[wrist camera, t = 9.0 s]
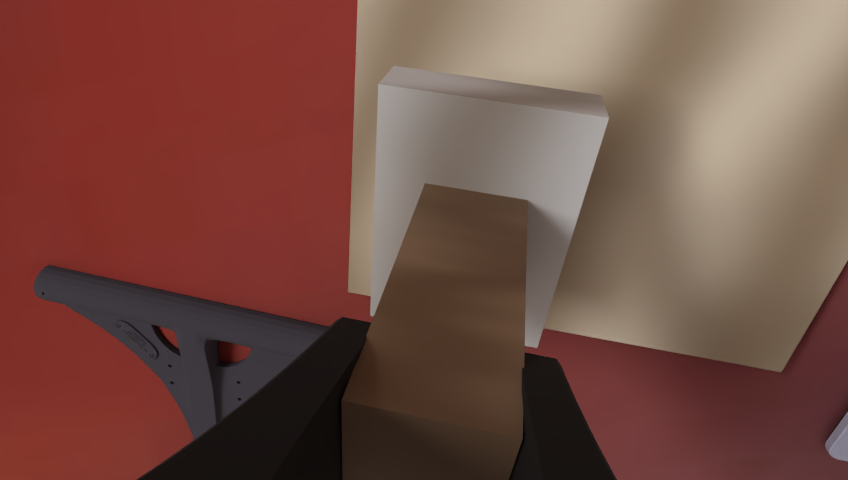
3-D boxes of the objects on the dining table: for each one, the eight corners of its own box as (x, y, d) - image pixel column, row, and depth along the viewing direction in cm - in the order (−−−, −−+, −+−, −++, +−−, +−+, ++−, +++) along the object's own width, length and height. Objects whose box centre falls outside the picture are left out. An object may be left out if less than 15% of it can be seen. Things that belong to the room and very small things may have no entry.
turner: (601, 95, 12) (685, 337, 5) (537, 313, 16) (539, 604, 9) (393, 65, 12) (234, 253, 6) (382, 284, 16) (281, 541, 10)
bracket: (115, 467, 30) (79, 510, 28) (60, 257, 23) (5, 290, 20) (346, 525, 29) (330, 576, 26) (365, 322, 22) (346, 366, 19)
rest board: (1010, -45, 12) (1028, -46, 12) (775, 363, 18) (781, 372, 18) (366, -110, 14) (361, -113, 13) (351, 285, 20) (347, 291, 19)
